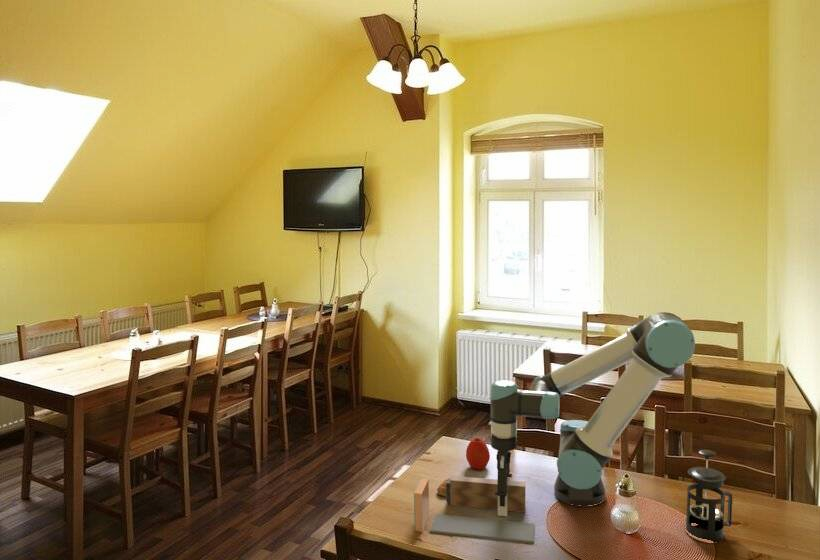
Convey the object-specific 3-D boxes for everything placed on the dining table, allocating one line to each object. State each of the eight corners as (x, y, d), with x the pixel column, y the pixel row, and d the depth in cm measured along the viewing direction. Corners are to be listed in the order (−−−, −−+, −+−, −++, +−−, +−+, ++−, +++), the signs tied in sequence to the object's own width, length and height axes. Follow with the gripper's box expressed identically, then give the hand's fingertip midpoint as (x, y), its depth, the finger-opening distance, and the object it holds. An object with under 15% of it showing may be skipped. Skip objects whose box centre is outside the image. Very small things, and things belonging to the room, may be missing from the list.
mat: (534, 525, 163) (534, 523, 162) (533, 543, 154) (533, 541, 154) (436, 515, 169) (435, 513, 169) (429, 532, 160) (429, 530, 160)
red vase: (463, 463, 204) (463, 433, 203) (486, 461, 205) (486, 432, 204) (468, 473, 196) (468, 442, 195) (492, 471, 197) (492, 441, 196)
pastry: (447, 500, 178) (446, 488, 178) (431, 493, 183) (431, 481, 183) (467, 490, 184) (467, 478, 184) (452, 483, 190) (452, 472, 189)
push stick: (525, 507, 173) (525, 481, 172) (524, 512, 170) (524, 486, 169) (448, 500, 178) (448, 475, 178) (446, 505, 175) (446, 479, 174)
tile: (429, 515, 170) (428, 479, 168) (422, 531, 161) (421, 493, 160) (421, 514, 170) (420, 478, 169) (414, 530, 161) (413, 493, 160)
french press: (689, 543, 152) (692, 458, 150) (677, 524, 162) (679, 444, 159) (737, 544, 151) (740, 459, 148) (722, 525, 160) (725, 445, 158)
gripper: (494, 420, 182) (494, 488, 184) (486, 447, 161) (487, 524, 163) (518, 421, 180) (518, 490, 183) (514, 449, 159) (514, 527, 161)
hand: (503, 506), depth 173 cm, fingers open, 9 cm apart
